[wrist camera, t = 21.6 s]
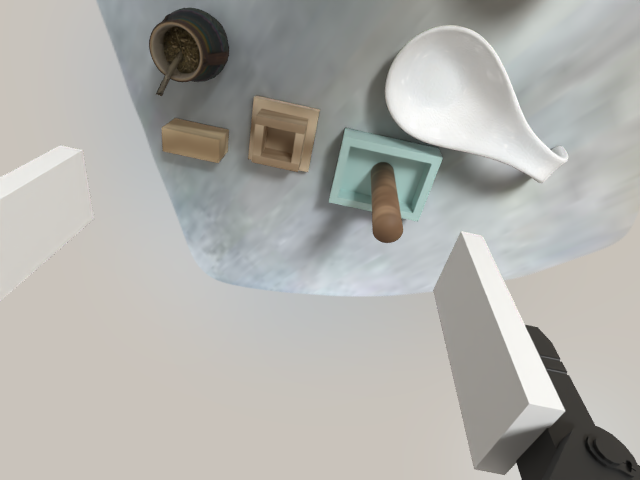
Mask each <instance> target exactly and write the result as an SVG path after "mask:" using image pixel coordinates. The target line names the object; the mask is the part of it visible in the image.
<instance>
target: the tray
mask: <svg viewBox="0 0 640 480" xmlns="http://www.w3.org/2000/svg"><path fill="white" fill-rule="evenodd" d="M442 159H443V157H442V155H441V153H440V151H439V148H435V147H431V146H426V145H422V144H417V143H413V142H408V141H404V140H399V139H395V138H390V137H385V136H381V135H376V134H372V133H367V132H363V131H358V130H354V129H349V128H345V130H344V135H343V139H342V143H341V148H340V152H339V156H338V161H337V165H336V169H335V174H334V178H333V182H332V187H331V191H330V197H329V203H334V204H339V205H343V206H348V207H353V208H357V209H362V210H367V211H371V212H372V197H371V169H372V168H373V166H374V165H376V164H377V163H380V162H386V163H389V164H390V165H391V166H392V167H393V169H394V174H395V181H396V187H397V193H398V200H399V206H400V213H401V218H404V219H409V220H413V221H418V220H419V218H420V215H421V213H422V210H423V208H424V205H425V202H426V200H427V197H428V195H429V192H430V190H431V187H432V185H433V182H434V179H435V177H436V174H437V172H438V169H439V167H440V164H441V162H442Z"/></svg>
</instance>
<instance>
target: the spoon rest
mask: <svg viewBox="0 0 640 480" xmlns="http://www.w3.org/2000/svg"><path fill="white" fill-rule="evenodd" d="M385 100H386V104H387V107H388V110H389V112H390V114H391V116H392V118H393V119H394V121H395V122H396V123H397V125H398V126H399V127H400V128H401V129H402V130H403V131H405V132H406V133H407V134H409V135H410V136H412V137H414V138H416V139H418V140H420V141H423V142H425V143H428V144H431V145H435V146H439V147H443V148H448V149H453V150H457V151H462V152H466V153H471V154H475V155H480V156H484V157H487V158H491V159H494V160H497V161H500V162H502V163H505V164H508V165H510V166H512V167H514V168H516V169H518V170H519V171H521V172H523V173H525V174H527V175H529V176H530V177H532V178H533V179H534V180H536V181H537V182H539V183H543V182H544V181H546V179H547V178H548V177H549V176H550V175H551V174H552V173H553V172H554V171H555V170H556V169H558V168H559V167H560V166H561V165H563V164H564V163H565V162H566V161H567V160H568V154H567V152H566V150H565V149H564V148H563V147H562V146H557V147H555V148H553V149H551V150H550V149H549V148H548V147H547V146H546V145H545V144H544V143H543V142H542V141H541V140H540V139H539V138H538V137H537V136H536V135H535V133H534V132H533V131H532V129H531V128H530V126H529V125H528V123H527V121H526V119H525V117H524V115H523V113H522V111H521V108H520V106H519V103H518V100H517V97H516V95H515V92H514V89H513V87H512V84H511V82H510V79H509V77H508V74H507V72H506V70H505V68H504V66H503V64H502V62H501V60H500V58H499V57H498V55H497V53H496V52H495V50H494V49H493V48H492V46H491V45H490V44H489V43H488V42H487V41H486V40H485V39H484V38H483V37H482V36H481V35H479V34H478V33H476V32H475V31H473V30H470V29H468V28H465V27H461V26H455V25H444V26H438V27H434V28H431V29H428V30H426V31H423V32H421V33H420V34H418V35H416V36H415V37H414V38H412V39H411V40H410V41H409V42H408V43H407V44H406V45H405V46H404V47H403V48H402V49H401V50H400V52H399V53H398V54H397V56H396V57H395V59H394V61H393V62H392V64H391V66H390V69H389V72H388V75H387V78H386V83H385Z"/></svg>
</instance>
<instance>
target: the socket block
mask: <svg viewBox="0 0 640 480" xmlns="http://www.w3.org/2000/svg"><path fill="white" fill-rule="evenodd" d="M319 112H320V109H315V108H311V107H306V106H302V105H297V104H293V103H288V102H284V101H279V100H275V99H270V98H266V97H261V96H257V95H255V96H254V100H253V110H252V121H251V132H250V143H249V154H248V159H249V160H252V162H254V163H258V164H263V165H268V166H272V167H277V168H281V169H286V170H291V171H295V172H298V170H300V171H305V172H308V170H309V165H310V160H311V154H312V149H313V144H314V138H315V133H316V128H317V122H318V117H319Z"/></svg>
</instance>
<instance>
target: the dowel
mask: <svg viewBox="0 0 640 480" xmlns="http://www.w3.org/2000/svg"><path fill="white" fill-rule="evenodd" d="M371 197H372V226H373V235H374V237H375V238H376V239H377V240H379V241H381V242H384V243H391V242H394V241H396V240H398V239H399V238H400V237H401V235H402V233H403V225H402V219H401V213H400V206H399V200H398V193H397V187H396V181H395V174H394V169H393V167H392V166H391V165H390V164H389V163H386V162H380V163H377V164H376V165H374V166H373V168H372V169H371Z"/></svg>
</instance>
